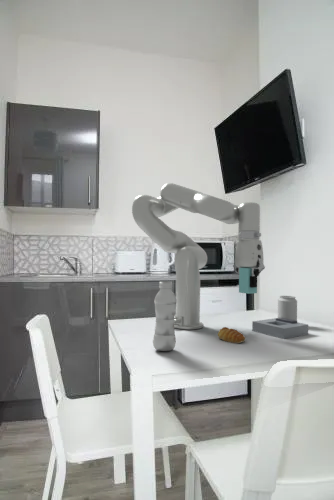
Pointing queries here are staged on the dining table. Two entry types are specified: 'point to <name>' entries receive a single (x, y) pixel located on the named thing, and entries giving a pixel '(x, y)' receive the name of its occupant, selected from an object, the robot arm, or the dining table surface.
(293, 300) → the can
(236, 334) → the pastry
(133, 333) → the dining table surface
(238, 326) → the dining table surface
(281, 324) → the grey recessed tray
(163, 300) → the plastic bottle
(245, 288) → the block
